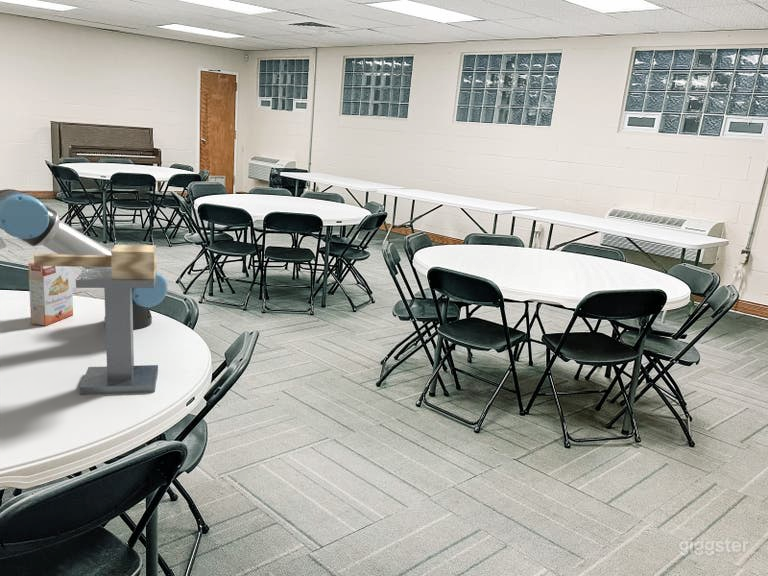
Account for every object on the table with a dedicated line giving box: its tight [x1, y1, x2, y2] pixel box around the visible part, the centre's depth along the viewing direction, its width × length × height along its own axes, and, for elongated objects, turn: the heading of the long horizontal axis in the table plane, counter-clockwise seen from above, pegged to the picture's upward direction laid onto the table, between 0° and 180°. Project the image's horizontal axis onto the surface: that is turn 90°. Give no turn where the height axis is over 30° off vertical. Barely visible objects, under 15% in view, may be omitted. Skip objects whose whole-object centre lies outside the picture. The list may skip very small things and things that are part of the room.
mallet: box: [33, 243, 157, 279], centre depth 160 cm, size 28×9×7 cm, turn 106°
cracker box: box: [27, 261, 74, 327], centre depth 211 cm, size 14×6×21 cm, turn 168°
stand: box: [75, 268, 159, 396], centre depth 166 cm, size 18×14×30 cm
